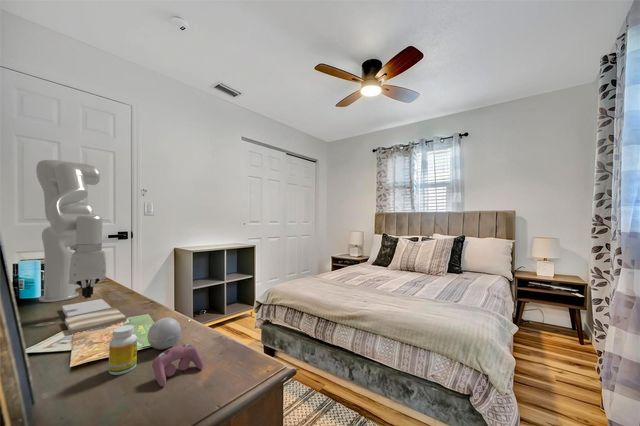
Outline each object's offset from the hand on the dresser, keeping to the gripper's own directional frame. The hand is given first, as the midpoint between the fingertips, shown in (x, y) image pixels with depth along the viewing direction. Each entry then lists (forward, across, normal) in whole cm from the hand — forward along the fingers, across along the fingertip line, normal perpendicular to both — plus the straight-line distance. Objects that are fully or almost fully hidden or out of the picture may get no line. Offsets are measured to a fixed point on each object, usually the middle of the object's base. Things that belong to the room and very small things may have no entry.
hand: (87, 297), depth 102 cm
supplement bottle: (+4, -2, -55) cm, 56 cm away
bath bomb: (+4, +9, -51) cm, 52 cm away
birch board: (+5, 0, -15) cm, 16 cm away
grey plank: (+6, 0, +2) cm, 6 cm away
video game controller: (+3, +6, -67) cm, 67 cm away
